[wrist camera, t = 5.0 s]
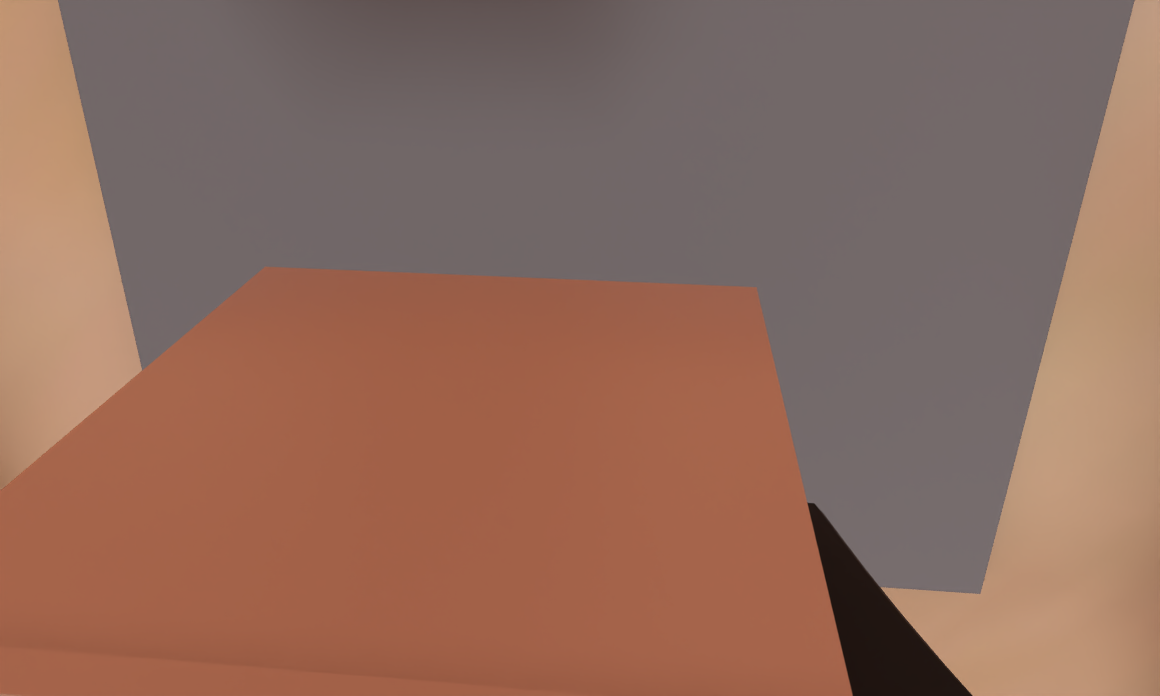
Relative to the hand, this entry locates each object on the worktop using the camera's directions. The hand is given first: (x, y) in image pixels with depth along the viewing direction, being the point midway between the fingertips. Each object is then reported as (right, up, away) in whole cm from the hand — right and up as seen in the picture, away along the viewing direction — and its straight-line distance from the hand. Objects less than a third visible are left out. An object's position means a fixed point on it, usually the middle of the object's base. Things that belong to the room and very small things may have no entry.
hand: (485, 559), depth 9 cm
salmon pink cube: (0, +1, +2) cm, 2 cm away
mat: (+1, +4, +8) cm, 9 cm away
